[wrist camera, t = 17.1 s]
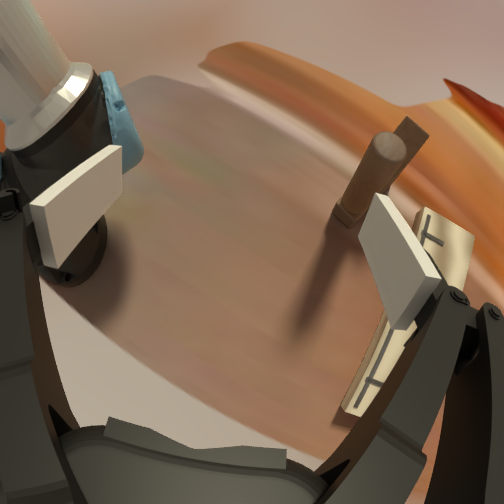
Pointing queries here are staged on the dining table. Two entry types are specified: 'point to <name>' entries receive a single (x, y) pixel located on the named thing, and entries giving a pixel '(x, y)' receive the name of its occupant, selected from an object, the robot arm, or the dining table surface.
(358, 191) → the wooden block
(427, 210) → the maple board
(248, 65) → the dining table surface
